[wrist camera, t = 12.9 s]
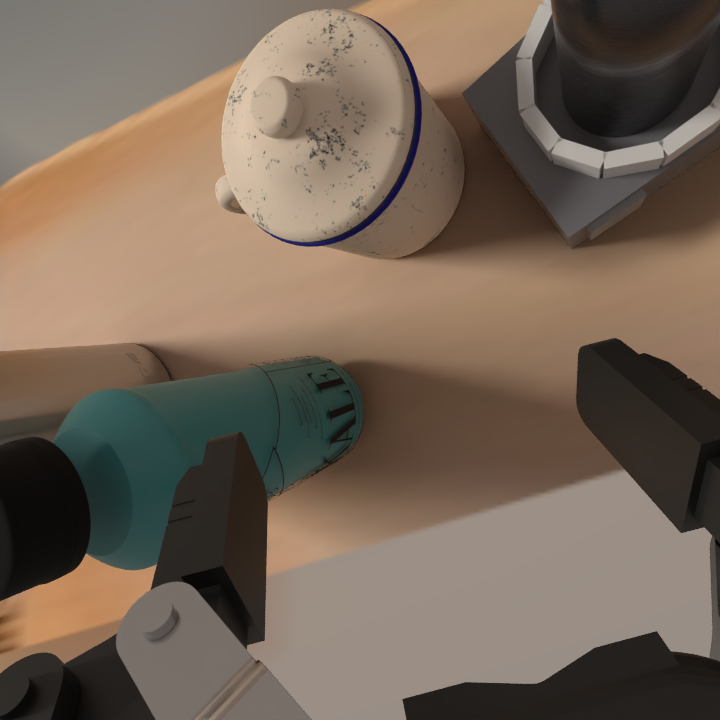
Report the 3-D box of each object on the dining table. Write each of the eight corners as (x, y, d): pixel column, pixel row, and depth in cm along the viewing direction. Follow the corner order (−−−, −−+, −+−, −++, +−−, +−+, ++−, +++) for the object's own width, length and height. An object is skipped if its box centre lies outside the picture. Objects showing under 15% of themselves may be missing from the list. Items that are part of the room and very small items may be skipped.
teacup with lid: (454, 69, 26) (360, -101, 15) (485, 241, 26) (412, 191, 15) (269, 148, 31) (103, 62, 20) (295, 290, 31) (143, 279, 20)
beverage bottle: (270, 399, 32) (-131, 508, 14) (332, 329, 30) (-57, 354, 12) (332, 476, 31) (-30, 707, 13) (402, 409, 28) (78, 578, 10)
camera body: (575, 253, 24) (571, 238, 19) (480, 124, 25) (453, 78, 20) (801, 99, 20) (872, 29, 15) (673, -44, 21) (699, -153, 16)
